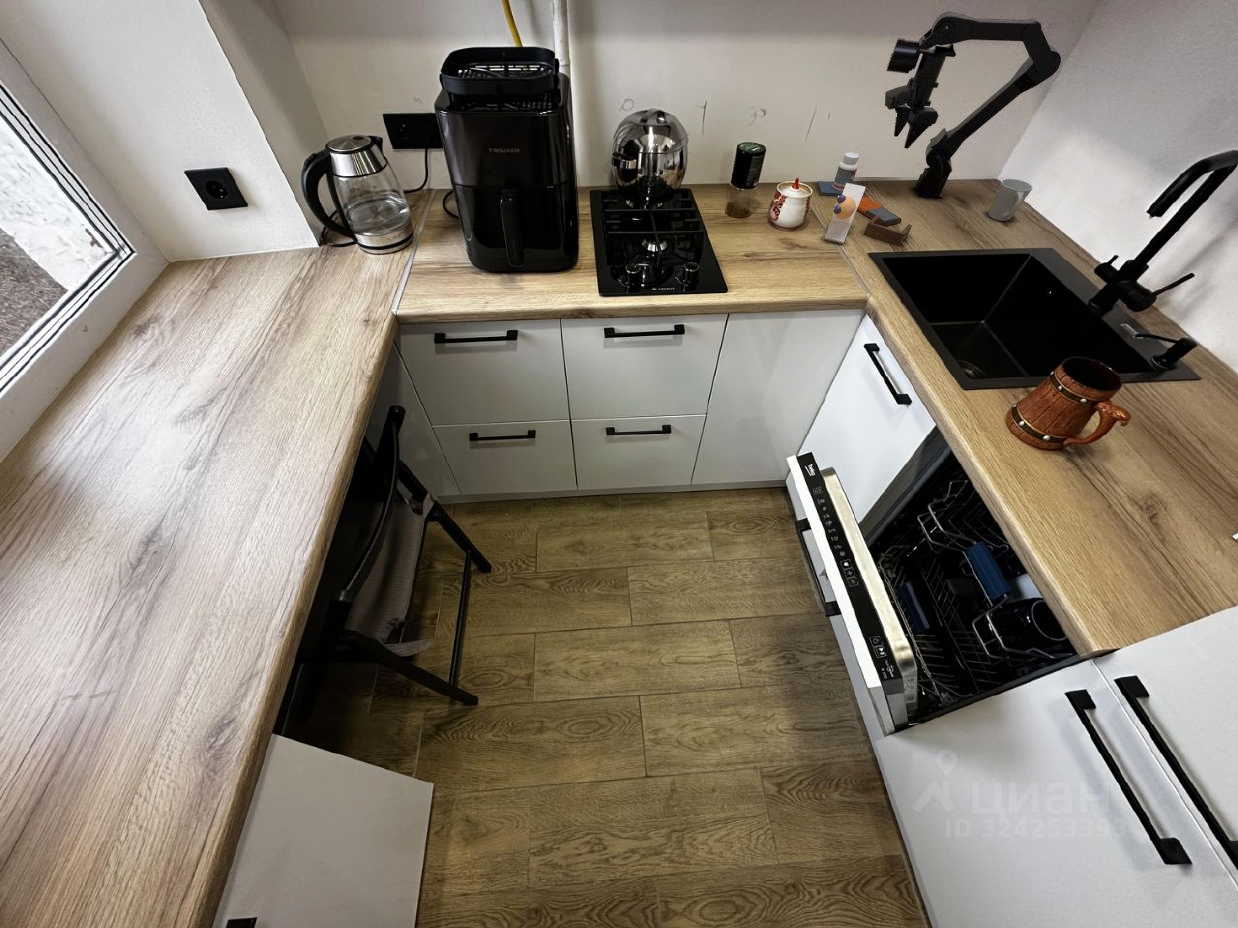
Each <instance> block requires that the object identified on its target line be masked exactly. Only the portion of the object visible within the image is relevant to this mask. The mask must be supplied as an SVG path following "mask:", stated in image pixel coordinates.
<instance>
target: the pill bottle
mask: <svg viewBox="0 0 1238 928" xmlns="http://www.w3.org/2000/svg"><path fill="white" fill-rule="evenodd" d="M859 158H860V155H859V154H858V153H856V152H852V151H851V152H849V151H848V152H845V153H844V155H843V157H842V161H840V162H839V164H838V167H837V170H836V173H835V176H834V179H833V181H832V182H833V185H832V186H833V188H834V189H836V190H839V191H843V190H844V188H845V185H846V183H850V184H852V183H854V180H855V176H856V173H857V170H858V168H859V166H858V161H859Z"/></svg>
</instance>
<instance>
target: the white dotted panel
mask: <svg viewBox="0 0 1238 928" xmlns="http://www.w3.org/2000/svg"><path fill="white" fill-rule="evenodd" d="M866 187H867V186H863V185H860V184H859V185H854V184H850V183H846V185H845V188H844V190H843V193H842V195H840V196H837V199H836V202H835V204H834V207H833V209H832V218H831V220H830V223H829V226H828V228H827V231H826V233H825V235H824V240H825V241H829V242H833V243H838V244H842V245H844V243H845V240H846V238H847V235H848V233H849V231H850V229H851V227H852V224H853V221H854V219H855V216H856V214H857V211H858V210H857V209H858V206H859V203H860V201H861V198H862V196H863V197H864V193H865V191H866Z"/></svg>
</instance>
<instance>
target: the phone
mask: <svg viewBox="0 0 1238 928" xmlns="http://www.w3.org/2000/svg"><path fill="white" fill-rule="evenodd" d="M857 211H859V212H860V213H862V215H865V216H866V217H868V218H869V219H871V220H872V219H873V218H874V217H875V216H876V215H881V216H880V219H879V221H878V225H881V226H884V227H887V226H890V225H891V226H892V225H895V224H899V223H901V222H902V220H903V219H902V217H900V216H898V215H896V214H895V213H893V212H891V211H890V210H888V209H887V208H885V207H883V206H882V205H881V204H879V203H877V202H876V201H874V200H872V199H871V198H869V197H868V196H863V198H861V201H860V203H859V206H858V209H857Z"/></svg>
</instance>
